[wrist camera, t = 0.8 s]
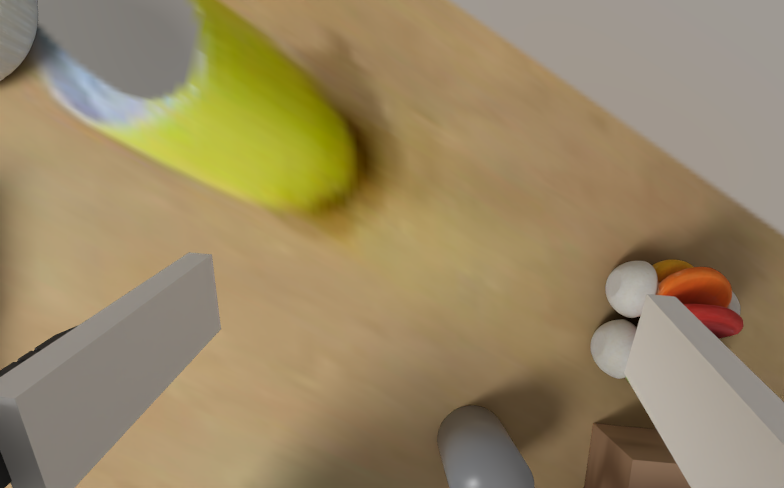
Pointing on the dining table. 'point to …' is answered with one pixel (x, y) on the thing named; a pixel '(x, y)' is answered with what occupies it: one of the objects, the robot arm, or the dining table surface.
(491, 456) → the grey cylinder
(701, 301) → the rainbow cloud toy
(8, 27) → the ramekin
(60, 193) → the dining table surface
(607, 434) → the walnut block
